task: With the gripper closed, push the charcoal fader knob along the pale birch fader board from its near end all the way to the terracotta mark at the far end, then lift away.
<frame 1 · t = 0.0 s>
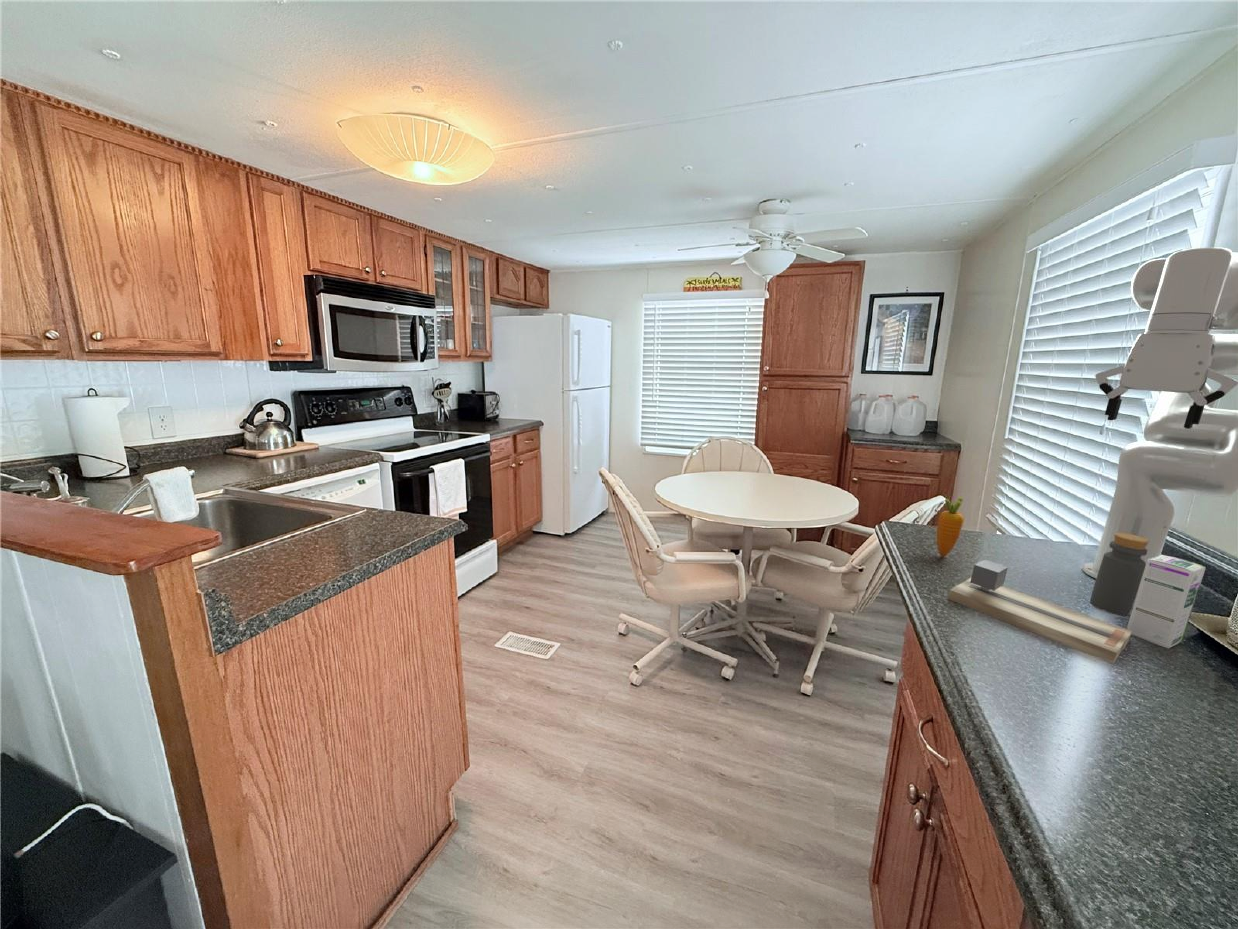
hand: (1148, 423, 89), 37 cm above the countertop, tool pointing down, fingers open, 9 cm apart
fader board: (1032, 618, 92), on the countertop
bottle: (1109, 608, 98), on the countertop
carrot: (942, 557, 119), on the countertop
fader knob: (988, 577, 97), point 5 cm above the countertop, slide at -8.0 cm
syrup box: (1151, 638, 87), on the countertop
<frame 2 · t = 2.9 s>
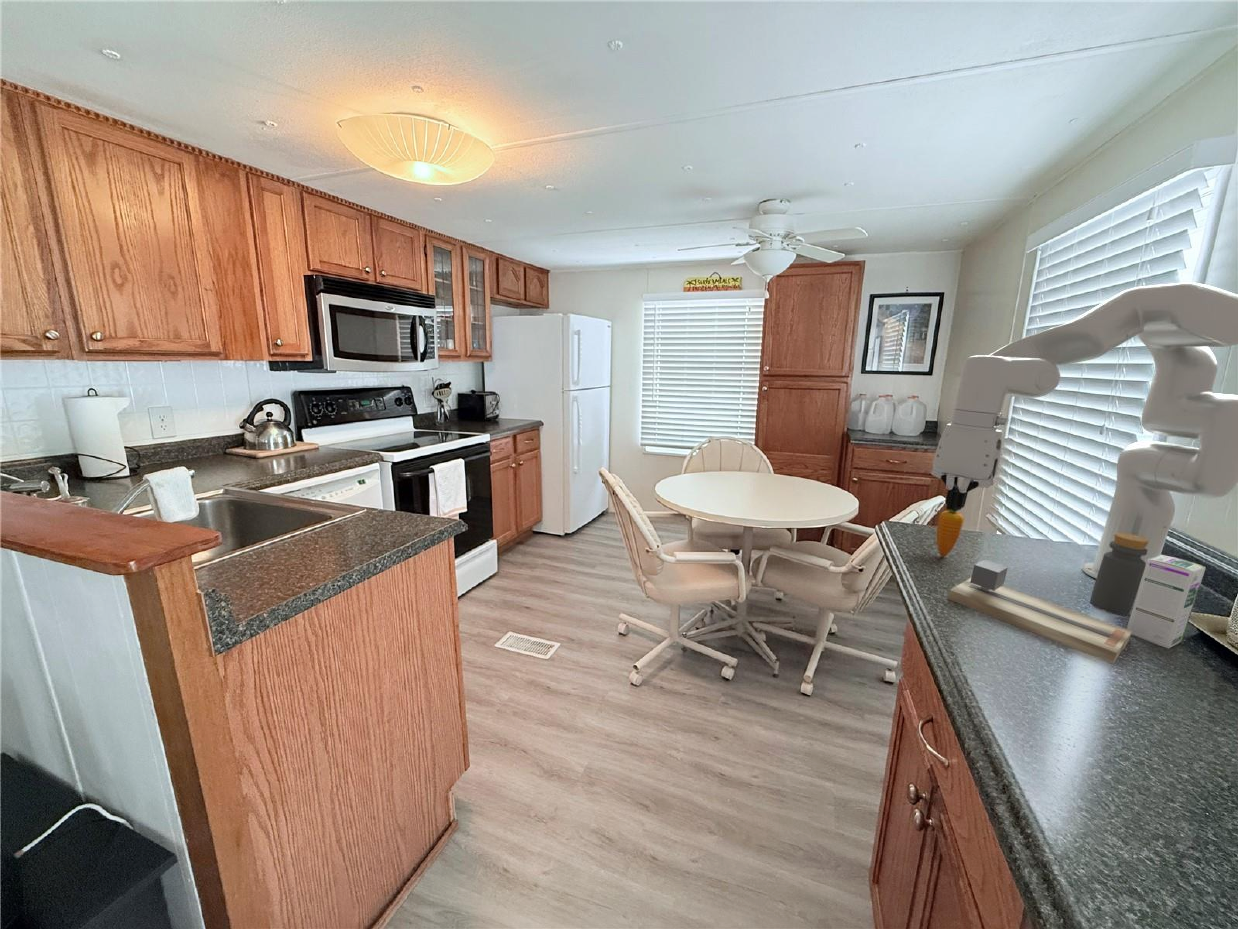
hand: (953, 509, 100), 17 cm above the countertop, tool pointing down, fingers closed
nothing on the countertop moved.
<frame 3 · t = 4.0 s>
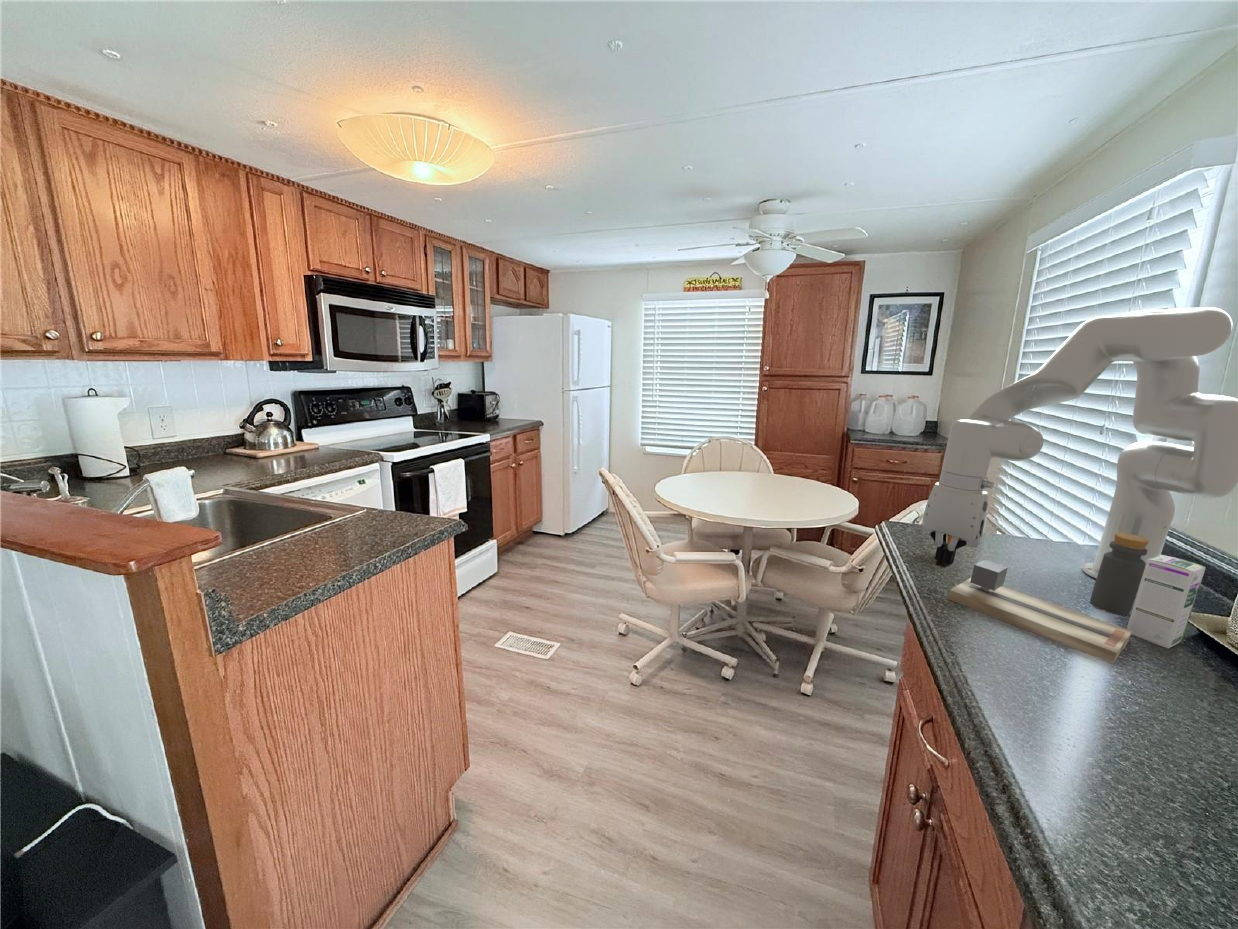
hand: (942, 565, 103), 4 cm above the countertop, tool pointing down, fingers closed
nothing on the countertop moved.
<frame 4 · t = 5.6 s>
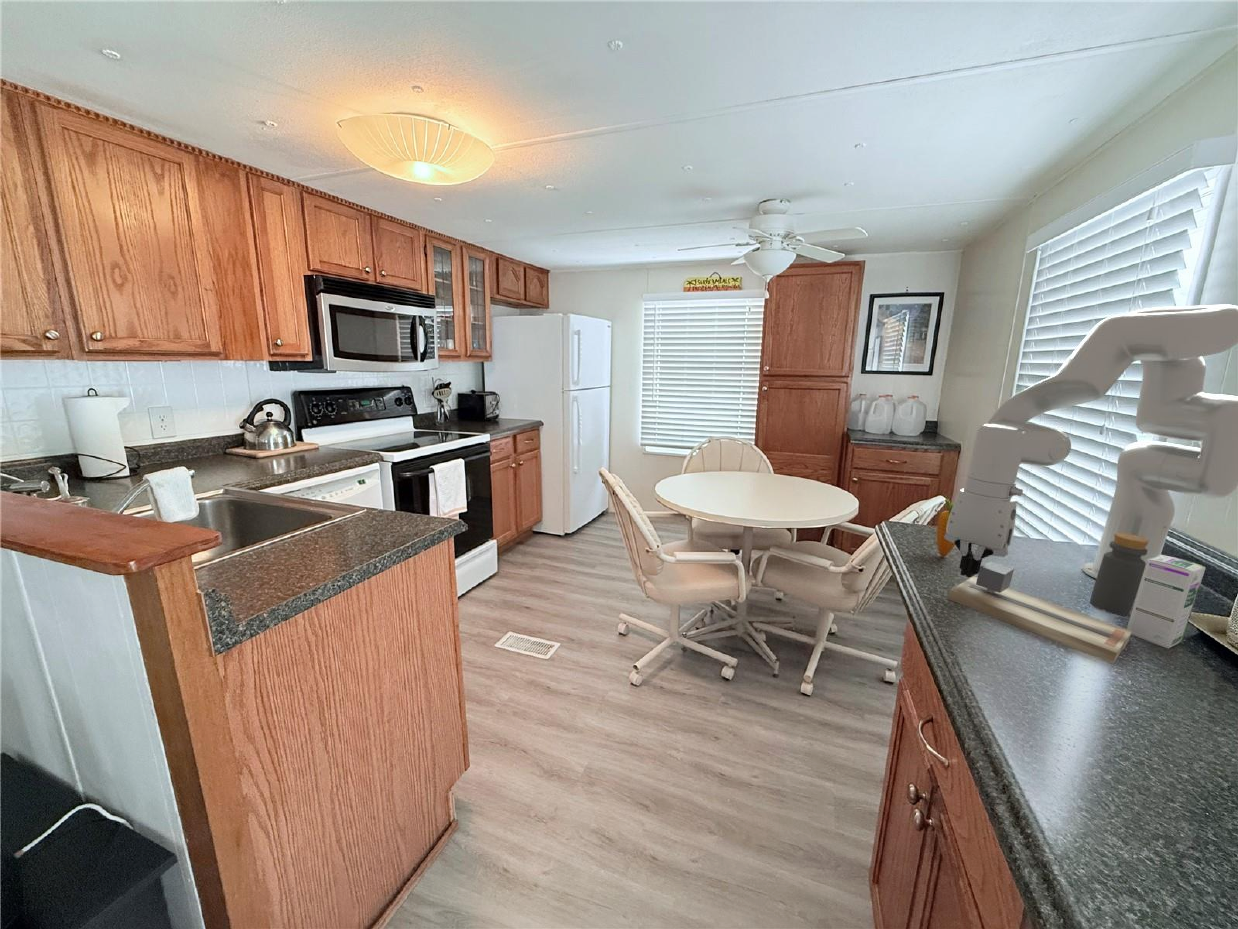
hand: (967, 574, 100), 4 cm above the countertop, tool pointing down, fingers closed
fader knob: (994, 579, 96), point 5 cm above the countertop, slide at -7.0 cm, touching gripper
everything else where it was.
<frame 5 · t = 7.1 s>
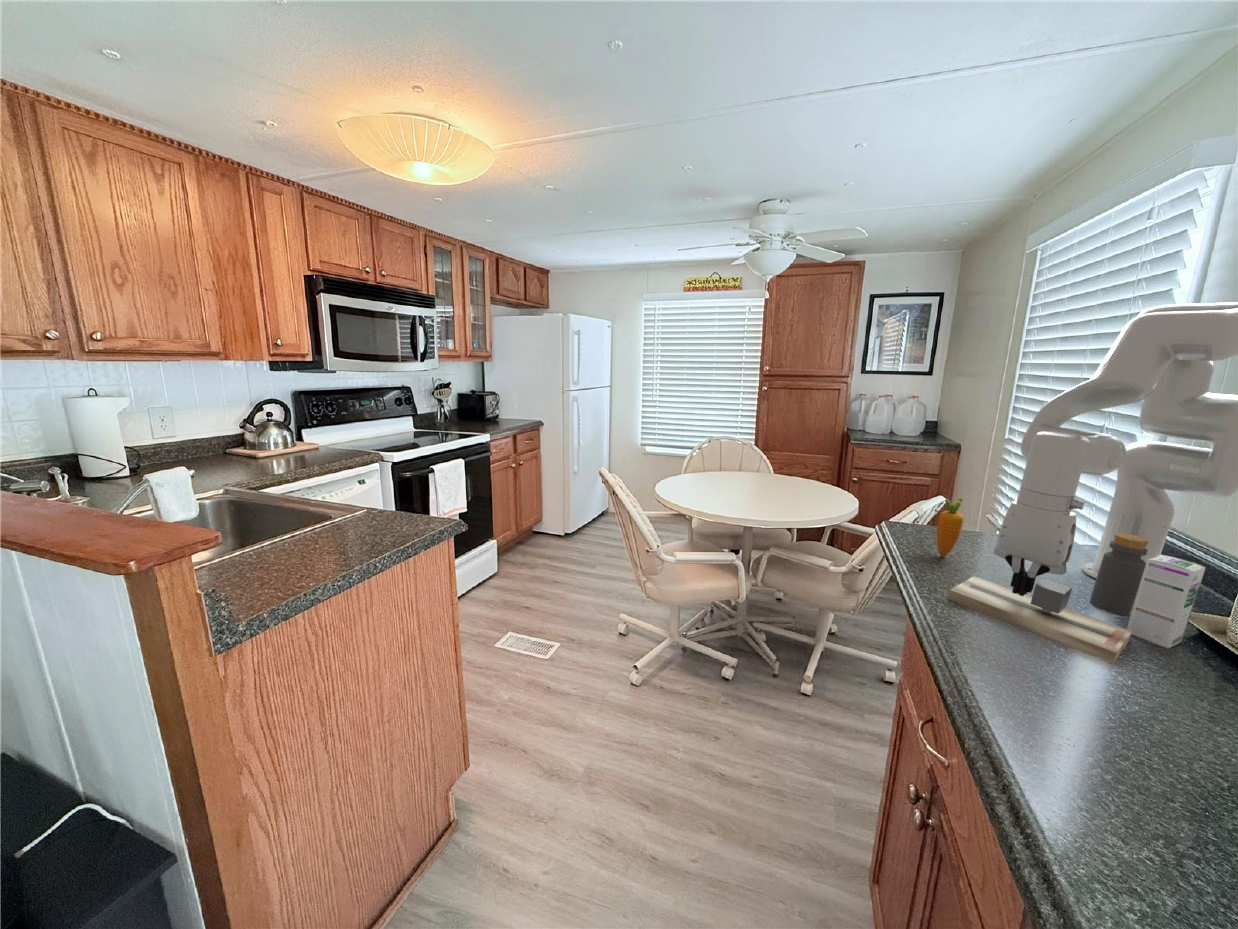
hand: (1019, 592, 93), 4 cm above the countertop, tool pointing down, fingers closed
fader knob: (1050, 598, 89), point 5 cm above the countertop, slide at 1.6 cm, touching gripper
everything else where it was.
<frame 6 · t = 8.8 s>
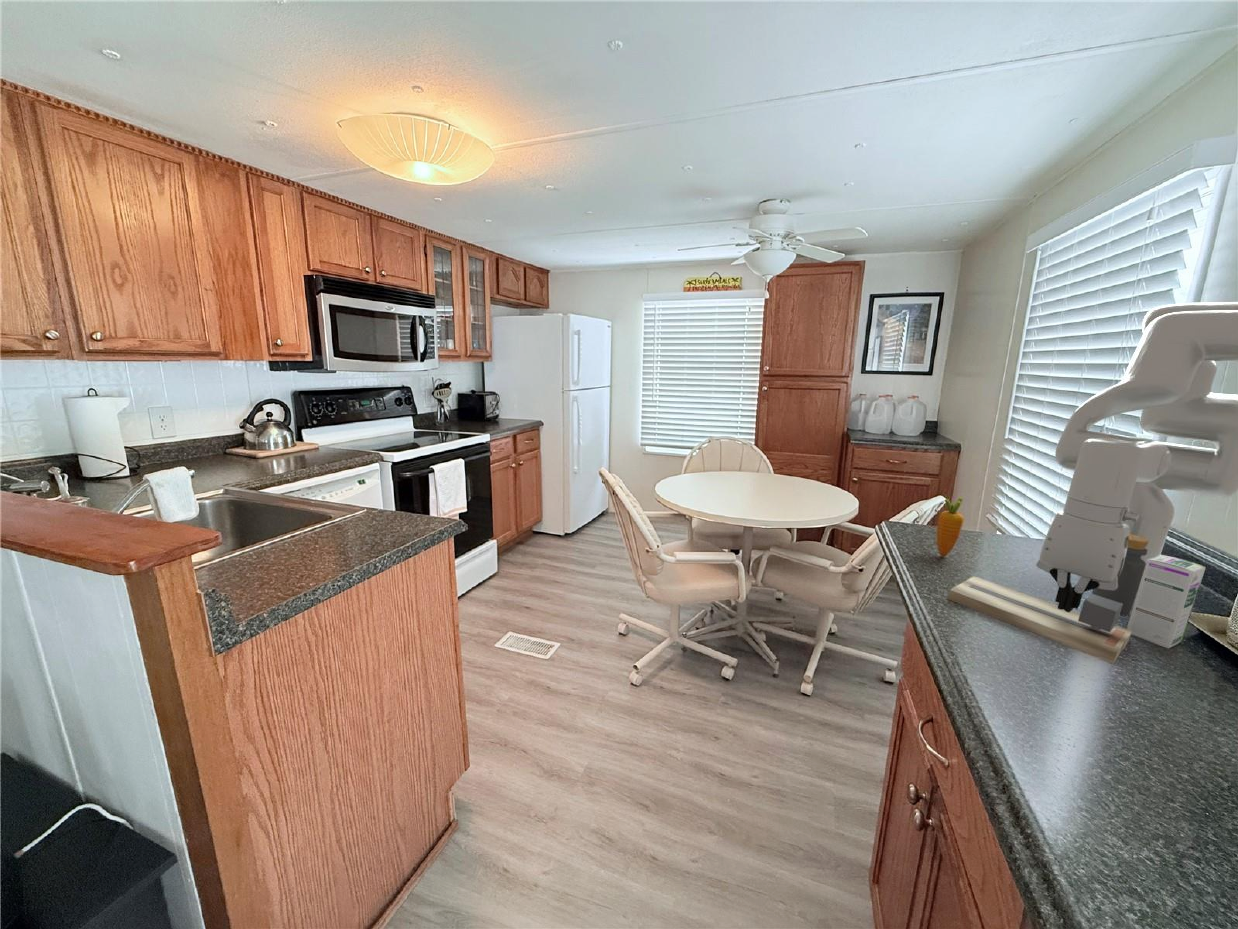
hand: (1065, 608, 88), 4 cm above the countertop, tool pointing down, fingers closed
fader knob: (1099, 615, 84), point 5 cm above the countertop, slide at 8.3 cm, touching gripper
everything else where it was.
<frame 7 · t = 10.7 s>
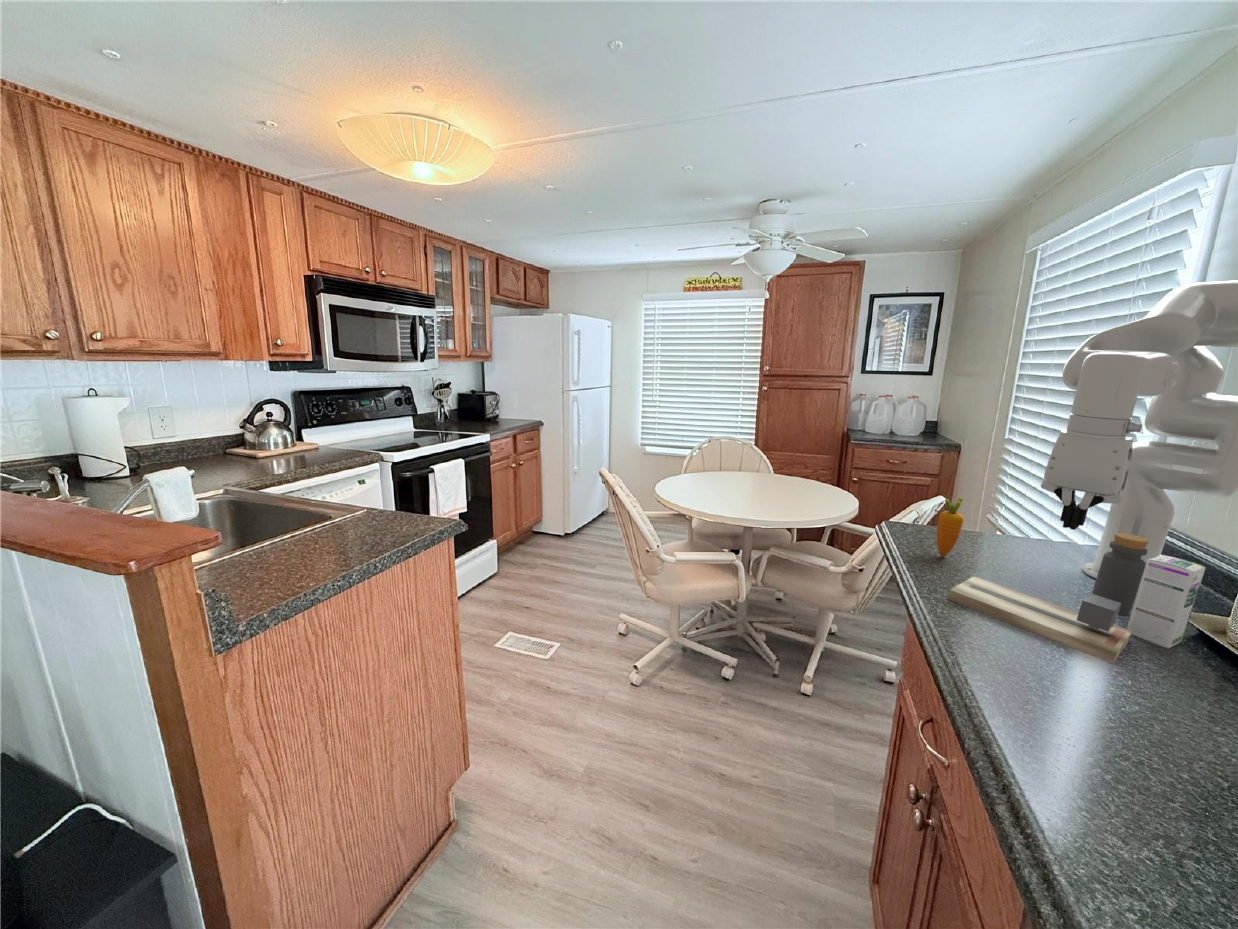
hand: (1070, 526, 88), 18 cm above the countertop, tool pointing down, fingers closed
fader knob: (1097, 615, 84), point 5 cm above the countertop, slide at 8.1 cm
everything else where it was.
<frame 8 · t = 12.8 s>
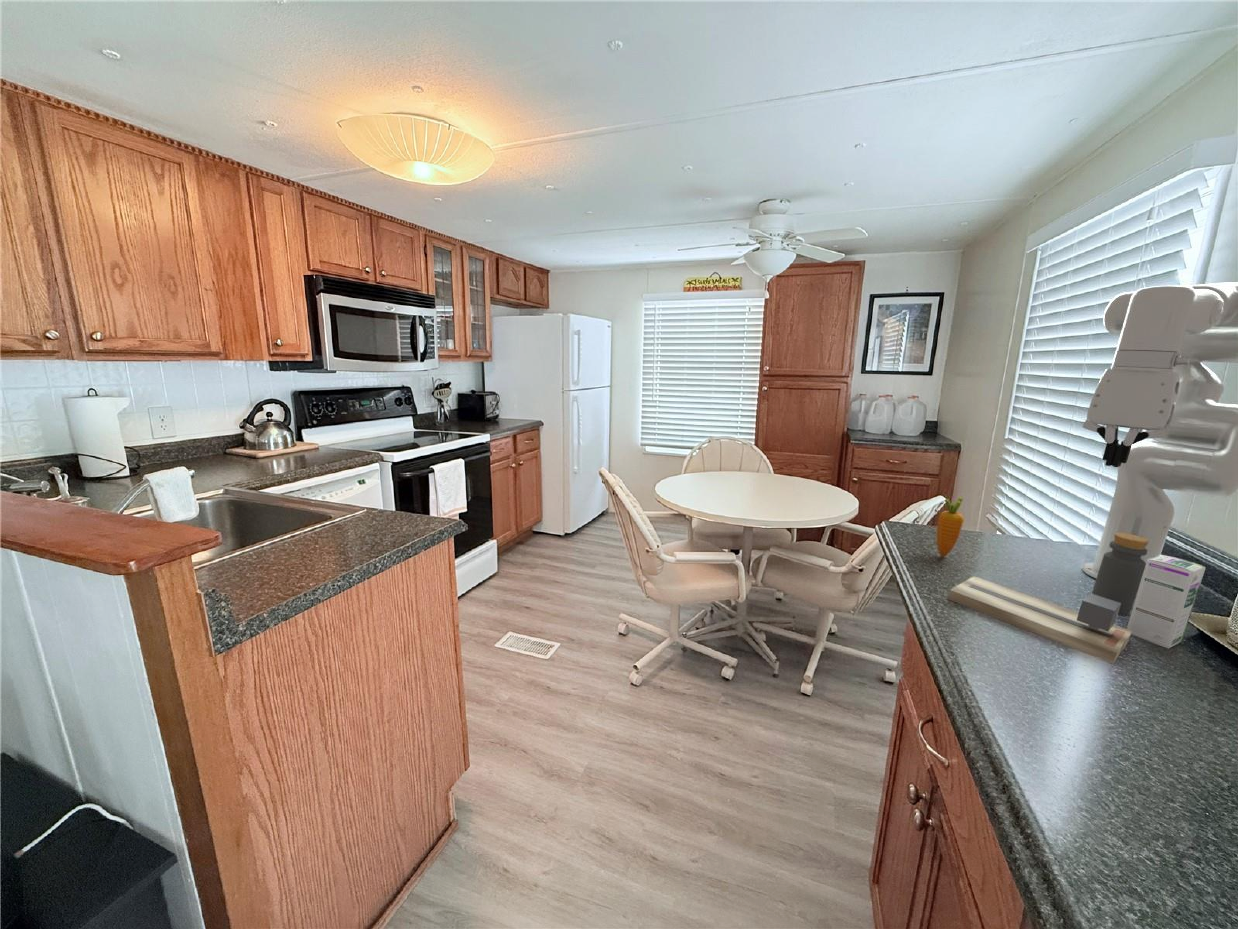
hand: (1112, 465, 89), 29 cm above the countertop, tool pointing down, fingers closed
nothing on the countertop moved.
at the end: fader knob slide at 8.1 cm; syrup box moved 0.2 cm from its start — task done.
